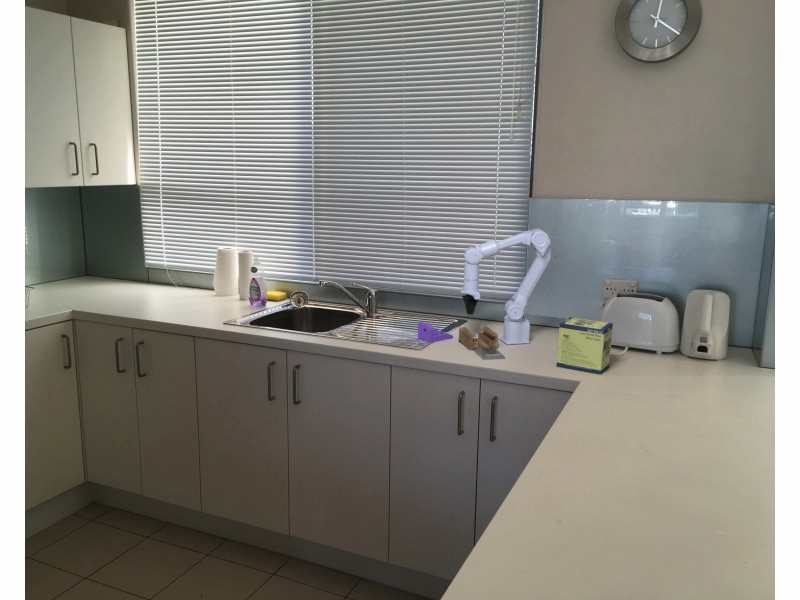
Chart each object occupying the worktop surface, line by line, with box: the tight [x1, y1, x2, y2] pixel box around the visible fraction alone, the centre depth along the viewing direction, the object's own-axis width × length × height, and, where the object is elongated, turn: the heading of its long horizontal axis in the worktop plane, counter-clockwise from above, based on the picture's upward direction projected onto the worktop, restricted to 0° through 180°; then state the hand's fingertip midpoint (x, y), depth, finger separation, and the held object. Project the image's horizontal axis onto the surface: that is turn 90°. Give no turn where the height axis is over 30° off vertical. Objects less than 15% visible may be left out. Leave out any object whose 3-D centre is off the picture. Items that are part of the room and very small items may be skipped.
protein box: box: [555, 317, 614, 376], centre depth 229 cm, size 10×16×16 cm
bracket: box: [417, 321, 454, 344], centre depth 262 cm, size 12×7×7 cm, turn 127°
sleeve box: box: [458, 325, 499, 351], centre depth 254 cm, size 11×12×6 cm
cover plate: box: [472, 347, 506, 361], centre depth 243 cm, size 8×12×2 cm, turn 11°
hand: (470, 314), depth 259 cm, fingers closed
